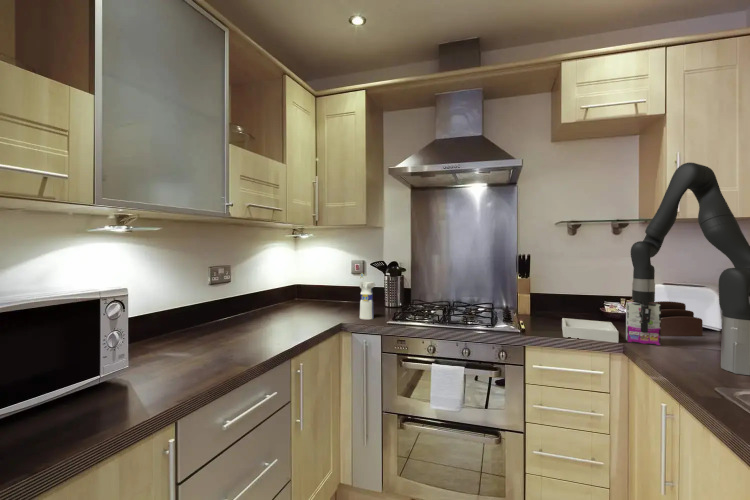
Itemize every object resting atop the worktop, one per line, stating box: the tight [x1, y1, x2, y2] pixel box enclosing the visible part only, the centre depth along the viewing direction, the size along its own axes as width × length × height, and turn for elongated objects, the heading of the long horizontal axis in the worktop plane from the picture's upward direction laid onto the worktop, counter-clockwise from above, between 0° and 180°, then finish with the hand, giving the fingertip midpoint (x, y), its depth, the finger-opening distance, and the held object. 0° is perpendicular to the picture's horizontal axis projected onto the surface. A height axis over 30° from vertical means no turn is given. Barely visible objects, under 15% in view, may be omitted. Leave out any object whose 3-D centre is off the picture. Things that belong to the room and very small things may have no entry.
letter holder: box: [649, 300, 704, 337], centre depth 164 cm, size 10×20×14 cm, turn 90°
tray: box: [561, 317, 619, 344], centre depth 161 cm, size 20×20×4 cm
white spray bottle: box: [359, 272, 376, 320], centre depth 194 cm, size 8×9×25 cm
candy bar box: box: [625, 301, 662, 346], centre depth 149 cm, size 11×5×16 cm, turn 62°
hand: (642, 330), depth 149 cm, fingers closed on candy bar box, 5 cm apart
